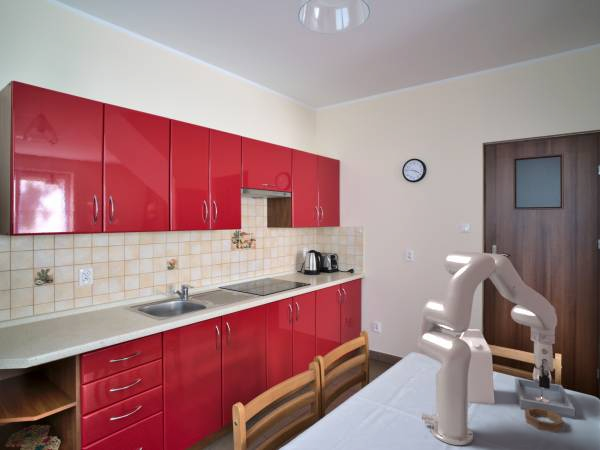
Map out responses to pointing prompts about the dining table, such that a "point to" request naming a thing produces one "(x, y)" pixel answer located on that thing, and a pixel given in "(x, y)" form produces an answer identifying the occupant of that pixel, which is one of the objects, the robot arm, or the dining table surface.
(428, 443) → the dining table surface
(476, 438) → the dining table surface
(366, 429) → the dining table surface
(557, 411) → the tray
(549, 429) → the collar
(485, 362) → the milk
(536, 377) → the wineglass
